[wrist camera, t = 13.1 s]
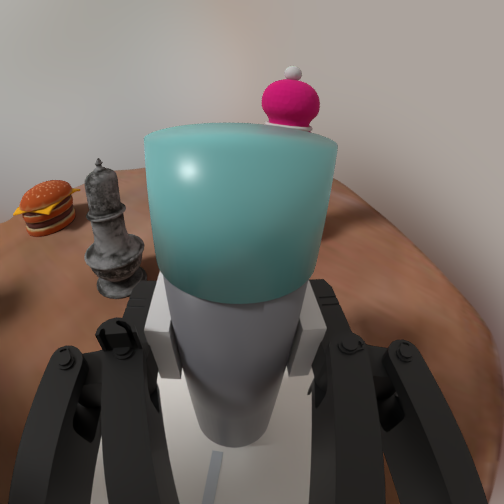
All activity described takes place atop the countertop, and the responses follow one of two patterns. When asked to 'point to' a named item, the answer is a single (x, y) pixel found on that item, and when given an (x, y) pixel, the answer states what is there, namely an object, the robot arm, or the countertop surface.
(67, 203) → the hamburger
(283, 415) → the paper
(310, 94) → the pepper mill
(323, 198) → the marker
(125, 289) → the chess piece
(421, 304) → the countertop surface
